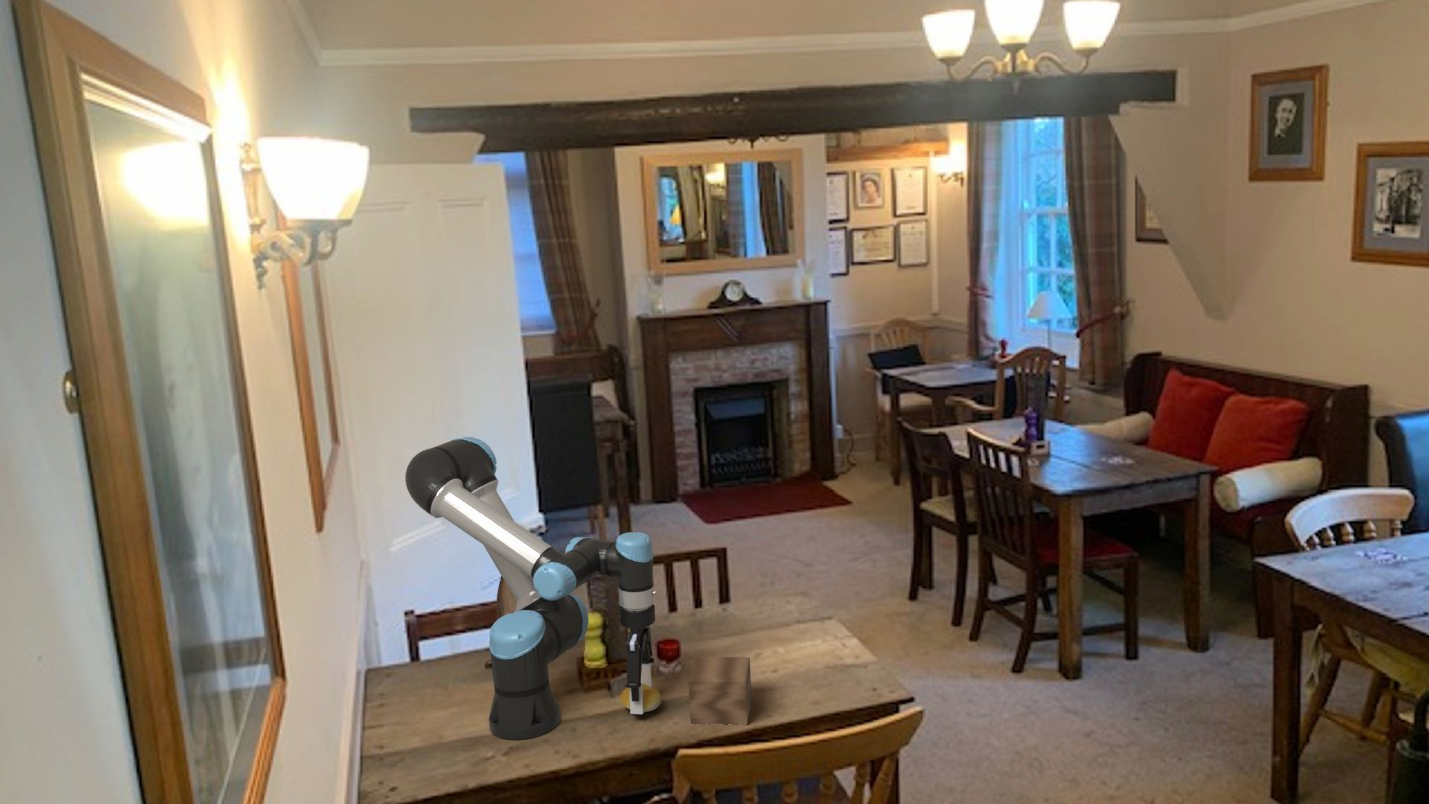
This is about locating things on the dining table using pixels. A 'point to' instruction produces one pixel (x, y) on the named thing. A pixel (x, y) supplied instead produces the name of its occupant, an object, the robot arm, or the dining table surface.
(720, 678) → the walnut block
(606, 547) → the robot arm
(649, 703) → the bread roll
